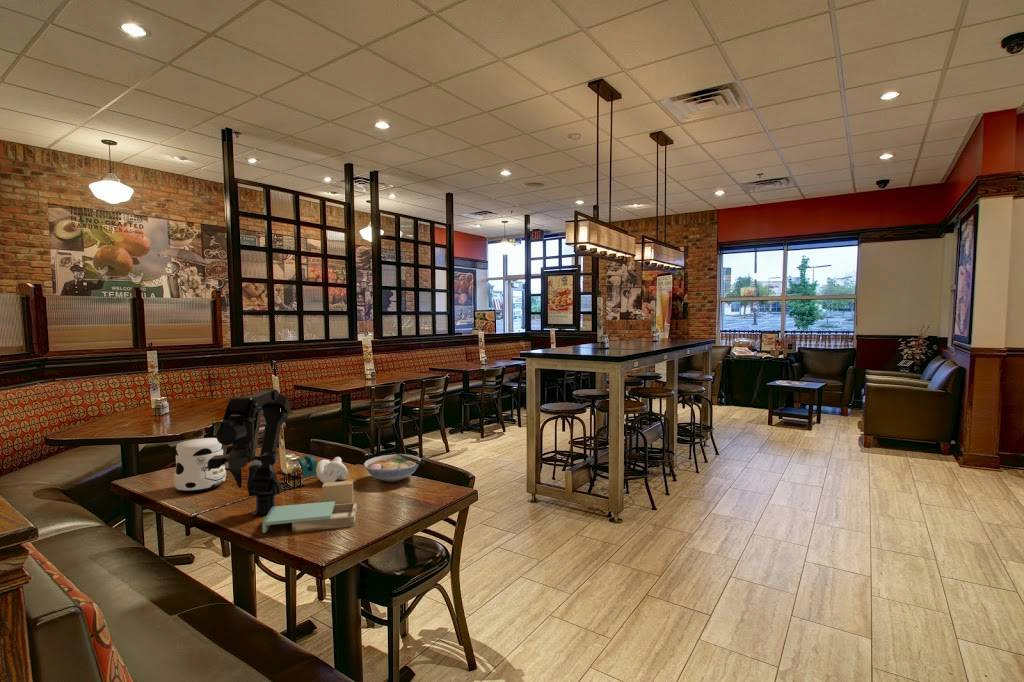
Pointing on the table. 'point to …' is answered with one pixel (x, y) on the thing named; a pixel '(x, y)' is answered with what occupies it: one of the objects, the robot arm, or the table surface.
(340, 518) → the box
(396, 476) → the ramen bowl
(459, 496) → the table surface
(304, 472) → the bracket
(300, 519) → the lid
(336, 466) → the white lumpy figurine
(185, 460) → the milk container
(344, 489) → the tan rectangular block
